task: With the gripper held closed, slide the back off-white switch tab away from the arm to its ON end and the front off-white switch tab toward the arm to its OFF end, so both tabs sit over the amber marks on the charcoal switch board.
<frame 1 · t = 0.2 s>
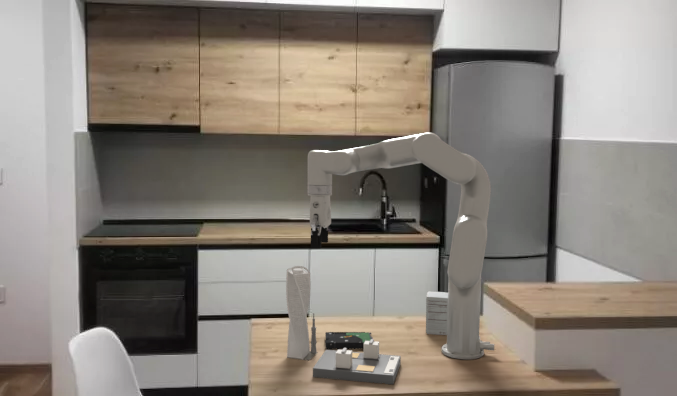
hand: (319, 245, 203), 31 cm above the table, tool pointing down, fingers open, 9 cm apart
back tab: (371, 348, 185), point 5 cm above the table, slide at 0.0 cm
disk drive: (348, 345, 204), on the table
skyscraper: (299, 357, 193), on the table
supplement box: (437, 331, 217), on the table
front tab: (344, 357, 178), point 5 cm above the table, slide at 6.0 cm
switch board: (357, 370, 182), on the table
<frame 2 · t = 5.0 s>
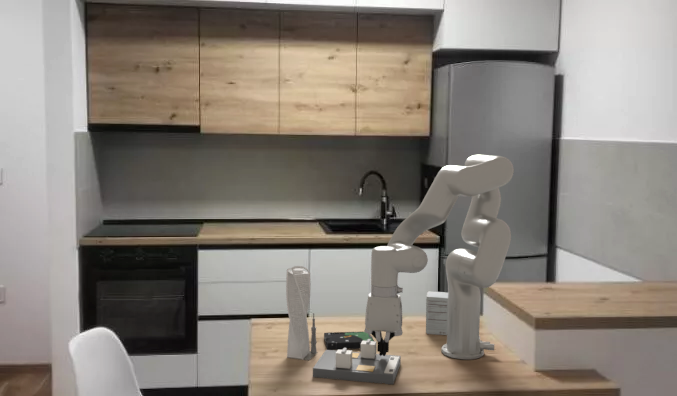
hand: (383, 354, 184), 4 cm above the table, tool pointing down, fingers closed
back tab: (368, 348, 185), point 5 cm above the table, slide at 0.9 cm, touching gripper
everything else where it was.
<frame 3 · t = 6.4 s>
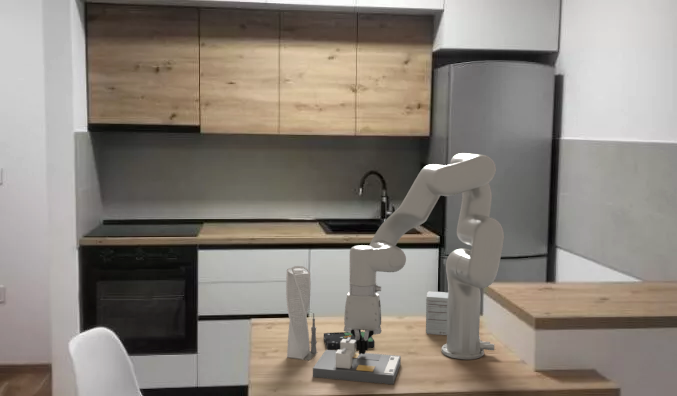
hand: (362, 352, 186), 4 cm above the table, tool pointing down, fingers closed
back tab: (348, 346, 187), point 5 cm above the table, slide at 6.7 cm, touching gripper
everything else where it was.
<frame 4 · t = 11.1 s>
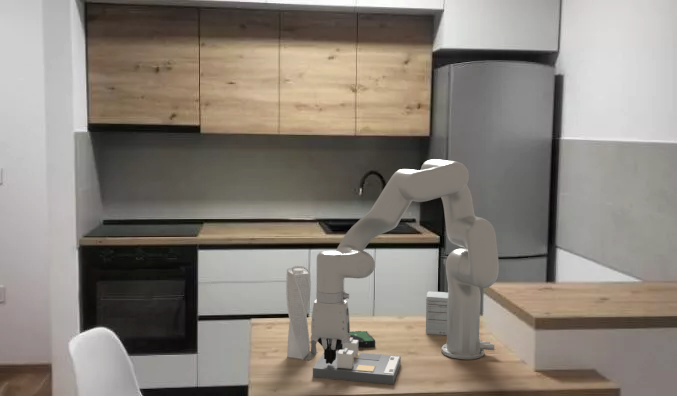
hand: (330, 361, 179), 3 cm above the table, tool pointing down, fingers closed
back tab: (350, 346, 186), point 5 cm above the table, slide at 6.1 cm
front tab: (345, 357, 178), point 5 cm above the table, slide at 5.6 cm, touching gripper
everything else where it was.
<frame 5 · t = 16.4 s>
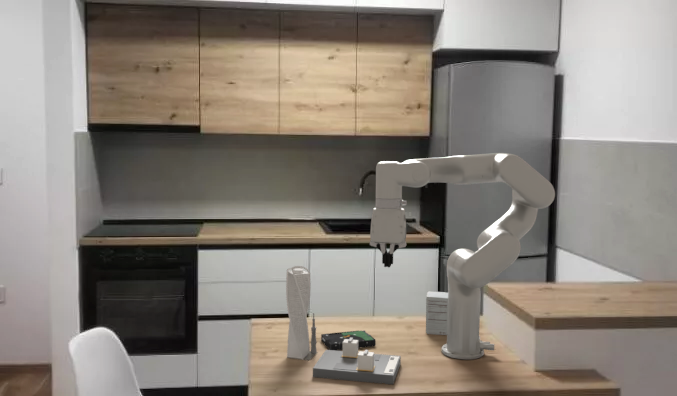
hand: (387, 266, 191), 27 cm above the table, tool pointing down, fingers closed
front tab: (365, 359, 176), point 5 cm above the table, slide at -0.1 cm
at the end: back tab slide at 6.1 cm; front tab slide at -0.1 cm; skyscraper moved 0.5 cm from its start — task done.
